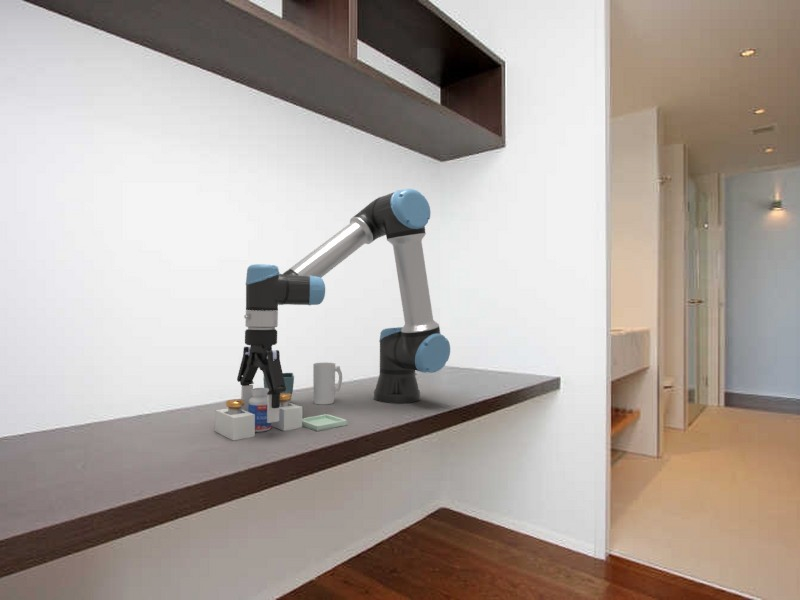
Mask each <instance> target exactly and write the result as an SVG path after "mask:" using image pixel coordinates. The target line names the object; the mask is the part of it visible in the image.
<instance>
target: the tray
mask: <svg viewBox="0 0 800 600" xmlns="http://www.w3.org/2000/svg"><path fill="white" fill-rule="evenodd" d="M344 426H348V420H347V419H344V418H341V417H339V416H334V415H331V414H329V413H326V414H325V413H324V414H320V415H314V416H307V417H304V418H303V417H302V427H305V428H307V429H309V430H313V431H316V432H321V431H325V430H331V429H335V428H340V427H344Z"/></svg>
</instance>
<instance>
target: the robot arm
mask: <svg viewBox="0 0 800 600" xmlns="http://www.w3.org/2000/svg"><path fill="white" fill-rule="evenodd" d="M430 218H431V206H430V203H429V201H428V199H427V198H426V197H425V195H424V194H422V193H421V192H420V191H418V190H417V189H414V188H404V189H400V190H396V191H394V192H391V193H389V194H386V195H383V196H378V198H375V199H374V200H372V201H371V202H370V203H369V204H367V205H366V206H365V207H364V208H362V209H361V210H360V211H359V212H358V213H357V214H355V215H354V216H352V217H351V218H350V220H349V224H347V225H346V226H345V227H343V228H342V229H340V230H339V231H338V232H336V234H334V235H333V236H331V237H330V238H329V239H327V240H326V241H325V242H323V243H322V244H320V245H319V246H317V248H315V249H314V250H313V251H312V252H310V253H308V254H307V255H306V256H305V257H303V258H302V259H300V260H299V261H298V262H297V263H295V264H294V265H292V266H291V267H290V268H289V269H287V270H286V271H284V272H283V273H280V269H279V267H278V266H277V265H274V264H263V263H261V264H257V263H256V264H250V265H249V266H248V267H247V269H246V277H245V280H246V281H245V315H244V316H243V317H244V318H243V319H245V325H244V326H245V327H246V328H247V329H245V330H244V344H245V345H247V346H244V347H243V351H242V352H243V353H242V359H241V363H240V366H239V370H238V374H237V378H236V380H237V382H239V383H240V386H241V391H240V392H241V393H240V394H241V400H244V406H242V410H244V411H247V412H248V406H249V399H250V398H252V397H253V395H252V389H254V384H255V382H254V381H253V380H254V378H255V375H256V373H257V372H258V369H259V370H260V371H262V374H263V377H265V380H266V383H267V386H268V389H269V391H268V393H267V394H268V399H267V423H271V422H277V421H279V409H280V393H282V392H285V391H286V387H285V382H284V377H283V373H284V372H283V369H282V365H281V360H280V359H281V358H280V354H281V353H280V350H278V349H277V350H276V349H274V350H273V348H272V347H273V346H274V345H275V346H276V345H277V343H278V330H277V329H276V328H277V327H278V325H279V324H278V321H279V316H278V315H279V308H278V306H280V305H281V306H284V305H289V306H291V305H293V306H294V305H296V306H315V305H316V306H317V305H318V306H319V305H320V304H322V302H323V301H324V300H325V296H326V284H325V281H324V279H323V277H325V276H326V274H328V273H329V272H331V271H332V270H334V269H335V268H336V267H337V266H338V265H340V264H341V263H342V262H344V261H345V260H346V259H347V258H348V257H350V256H351V255H352V254H354V253H355V252H356V251H357V250H358V249H360V248H361V247H362V246H363V245H370V244H371V243H373V242H375V240H377V239H379V238H382V237H384V236H386V241H387V242H389V244H391V245H392V247H393V255H394V261H395V267H396V274H397V275H396V276H397V280H398V286H399V287H398V288H399V293H400V294H399V295H400V299H401V301H400V302H401V306H402V312H403V320H404V325H403V326H402V327H401V326H399V327H389V328H383V329H381V331H380V332H379V333H380V336H379V340H378V341H379V375H378V379H377V381H376V386H375V389H374V390H373V400H375V401H378V402H384V403H391V404H392V403H393V404H405V403H413V402H418V401H420V400H421V391H420V389H419V386H418V381H417V380H418V379H417V377H416V371H417V372H421V373H429V374H430V373H431V374H432V373H434V374H435V373H436V372H439V371H440V370H442V369H444V367H445V366H446V364H447V362H448V361H449V359H450V355H451V344H450V342H449V340H448V338H447V337H446V336H445V335H443V334H441V329H440V328H441V327H440V325H439V324H440V323H438V322H437V321H435V320H434V316H433V309H432V303H431V296H430V288H429V282H428V276H427V270H426V263H425V255H424V248H423V242H422V241H423V239H424V237H425V236H426V234H427V233H426V227H425V226H427V225H428V222H429V220H431V219H430Z"/></svg>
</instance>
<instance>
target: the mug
mask: <svg viewBox="0 0 800 600" xmlns="http://www.w3.org/2000/svg"><path fill="white" fill-rule="evenodd" d="M312 367H313V371H312V372H313V373H312V374H313V375H312V376H313V379H312V381H313V384H312V385H313V403H314V405H331V404H333V403H335V394H336V393H337V392H340V390H341V386H342V382H343V373H342V370H341V367H340V366H339V365H336V363H334V362H315V363H313V366H312ZM336 372H337V374H338V382H337V384H336ZM335 385H336V386H335Z"/></svg>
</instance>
